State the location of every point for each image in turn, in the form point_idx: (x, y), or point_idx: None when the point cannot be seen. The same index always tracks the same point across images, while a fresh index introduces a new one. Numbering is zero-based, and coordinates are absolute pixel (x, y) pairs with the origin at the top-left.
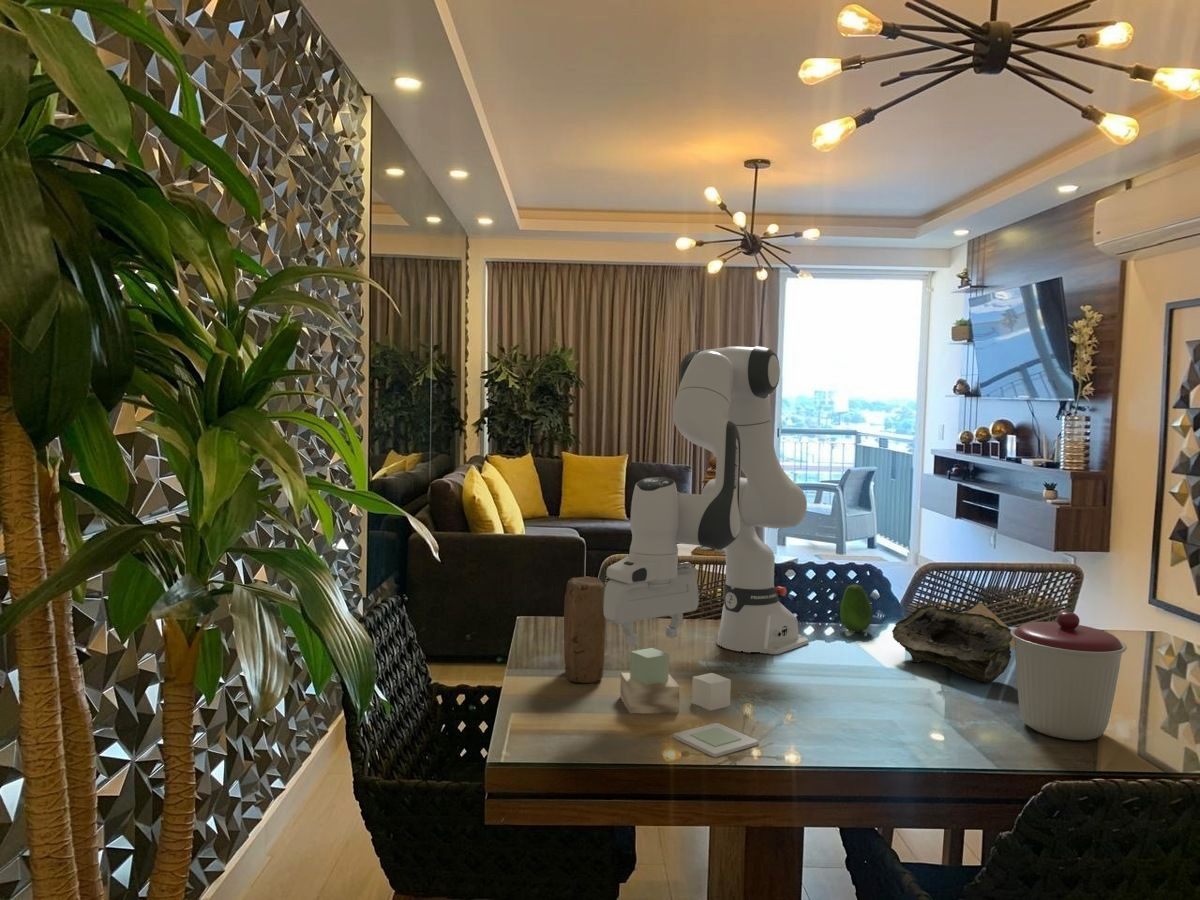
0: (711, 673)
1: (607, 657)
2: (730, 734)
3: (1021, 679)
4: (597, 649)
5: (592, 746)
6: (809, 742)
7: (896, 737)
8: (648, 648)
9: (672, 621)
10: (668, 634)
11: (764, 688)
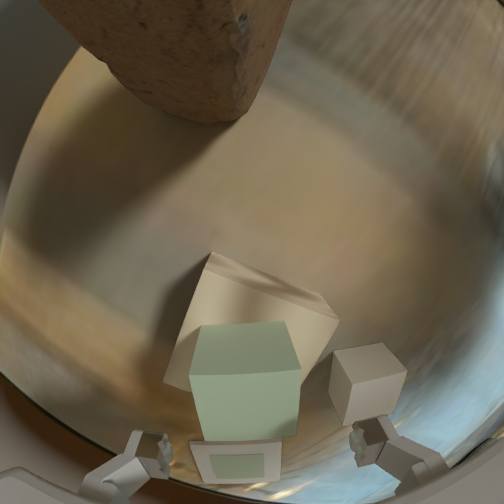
0: (402, 374)
1: (357, 4)
2: (261, 469)
3: None
4: (199, 104)
5: (74, 402)
6: (333, 479)
7: None
8: (281, 372)
9: (402, 458)
10: (356, 435)
11: (469, 327)
